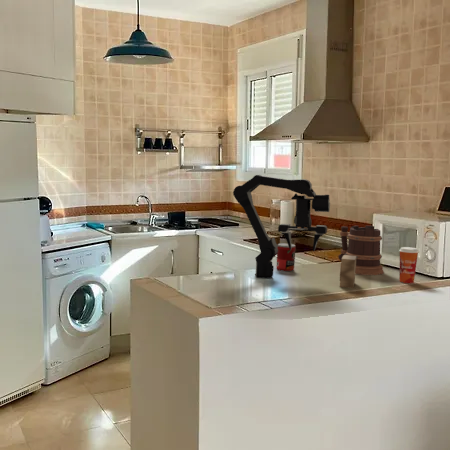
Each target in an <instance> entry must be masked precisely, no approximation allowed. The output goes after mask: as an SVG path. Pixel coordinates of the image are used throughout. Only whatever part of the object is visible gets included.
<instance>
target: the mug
mask: <svg viewBox="0 0 450 450" xmlns="http://www.w3.org/2000/svg"><path fill="white" fill-rule="evenodd" d="M340 228H341V230H340V232H339V235H340V239H341V246H342V247H341V248H342V249H340V254H339V255H338V256H337V257H338V260H340V261H341V260H342V257H343V255H350V256H357V257H356V271H355V275H363V276H365V275H366V276H367V275H368V276H375V275H376V276H377V275H382V274H384V273H385V272H384V269H383V268H384V267H383V265H382V264H381V259H382V257H383V255H382V254H381V241H382V240H383V237H382V235H381V230H380V229H378V228H375V226H374V225H365V227H364V226H363V227H362V226H361V227H359V225H352V226H351V227H348V226H342V225H341V227H340ZM349 229H350V230H349ZM348 230H349V231H348Z"/></svg>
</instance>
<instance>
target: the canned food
mask: <svg viewBox="0 0 450 450" xmlns="http://www.w3.org/2000/svg"><path fill="white" fill-rule="evenodd" d="M277 245H278V247H277V248H278V253H277V255H276V267H275V268H276V270H277V271H281V270H284V271H283V272H292V270H293V271H294V269H295V263H296V261H295V260H296V245H295V244H294V243H291V250H290V248H289V246H288V243H284V242H283V243H278V244H277Z"/></svg>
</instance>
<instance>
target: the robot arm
mask: <svg viewBox="0 0 450 450" xmlns="http://www.w3.org/2000/svg"><path fill="white" fill-rule="evenodd" d="M259 186H265V187H271V188H279V189H285V190H289V191H291V192H294V195H293V196H292V197H291V198H290V200H293V201H294V200H296V201H295V215H294V219H293V223H294V225H291V224H290V223H281V224H279V225H278V227H277V229H278V230H277V232H279V233H280V234H281V235H284V238H285V240H286V242H287V243H286V244H288V246H289V248H290V250H291V244H292V232H291V231H296V232H314V235H313V236H314V237H313V244H312V245H313V246H312V252H315V250H316V248H317V244H318V241H319V239H320V237H323V236H324V235H325V234H327V233H328V226H327V225H323V224H322V225H319V224H317V225H316V226H312V222H313V221H312V218H311V209H312V210H314V212H316V213H317V212H318V213H330V210H331V202H330V194H316V192H315V190H314V189H313V184H312V183H311V181H310V180H309V179H306V178H305V179H285V178H278V177H272V176H265V175H262V174H255V175H254V176H253V177H252V178H250V179H249V180H247V181H246V182H245V183H243V184H242V185H237V186H235V187H234V189H233V192H232V194H233V197H234V199H235V200H236V201H237V203H238V204H239V205H240V206H241V208H242V209H243V210H244V212H245V214H246V216H247V219H248V221H249V223H250V225H251V227H252V230H253V231H254V234H255V236H256V237H257V240H258V241H257V242H258V245H259V246H258V247H259V251H260V253H259V254H258V255H257V256H256V257H255V273H254V276H255V278H257V279H258V278H260V279H261V278H262V279H273V276H274V265H273V262H272V261H273V258H275V257H277V253H278V248H277V247H278V244H277V242H276V238H275V237H273V238H271V237H270V236H269V235H268V233H267V231H266V229H265V226H264V224H263V222H262V220H261V218H260V216H259V214H258V212H257V209H256V207H255V205H254V201H253V195H252V192H254V191H255V190H256V189H257V188H258V187H259ZM307 197H308V198H307Z"/></svg>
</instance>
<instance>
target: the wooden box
mask: <svg viewBox="0 0 450 450" xmlns="http://www.w3.org/2000/svg"><path fill="white" fill-rule="evenodd" d="M356 257H357V256H350V255H343V257H342V260H340V261H341V262H340V266H339V267H340V268H339V269H340V271H339V288H347V289H354V286H355V284H356V283H355V282H356V274H355V271H356Z"/></svg>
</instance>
